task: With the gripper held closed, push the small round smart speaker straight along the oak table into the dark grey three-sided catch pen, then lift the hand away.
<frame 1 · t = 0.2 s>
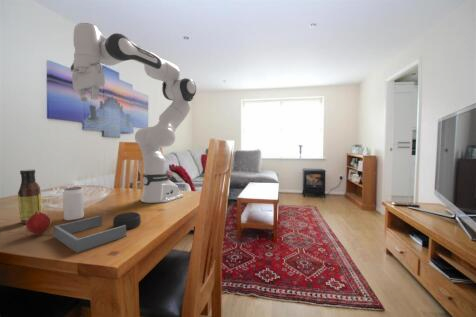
hand: (89, 100, 90), 47 cm above the table, tool pointing down, fingers open, 8 cm apart
onion: (39, 235, 71), on the table
can: (74, 218, 88), on the table
sauce bottle: (31, 222, 83), on the table
catch pen: (90, 236, 70), on the table
smart speaker: (127, 226, 80), on the table
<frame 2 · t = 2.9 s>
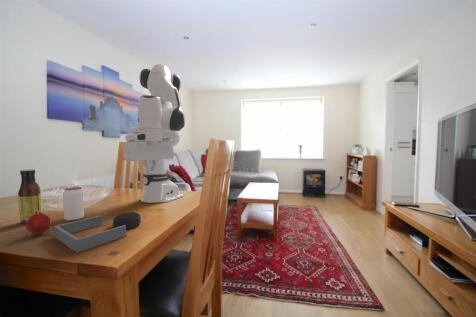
hand: (151, 171, 87), 19 cm above the table, tool pointing down, fingers closed
nothing on the table moved.
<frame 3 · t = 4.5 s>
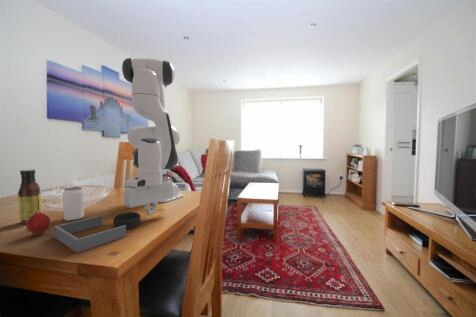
hand: (151, 213, 88), 2 cm above the table, tool pointing down, fingers closed
nothing on the table moved.
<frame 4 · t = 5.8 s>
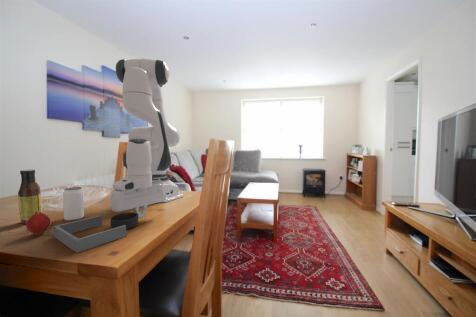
hand: (140, 217, 84), 2 cm above the table, tool pointing down, fingers closed
smart speaker: (124, 227, 79), on the table, touching gripper
everything else where it was.
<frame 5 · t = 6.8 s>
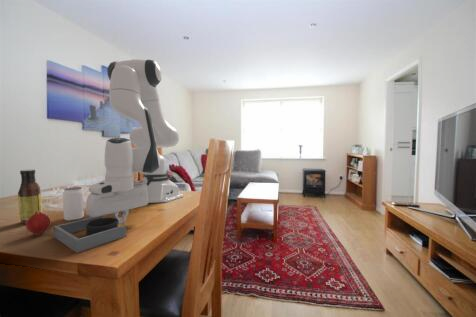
hand: (120, 223, 78), 2 cm above the table, tool pointing down, fingers closed
smart speaker: (102, 233, 73), on the table, touching gripper
everything else where it was.
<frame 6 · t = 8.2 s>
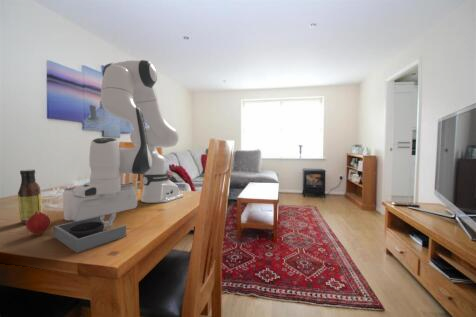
hand: (107, 227, 74), 2 cm above the table, tool pointing down, fingers closed
smart speaker: (87, 238, 70), on the table
everything else where it was.
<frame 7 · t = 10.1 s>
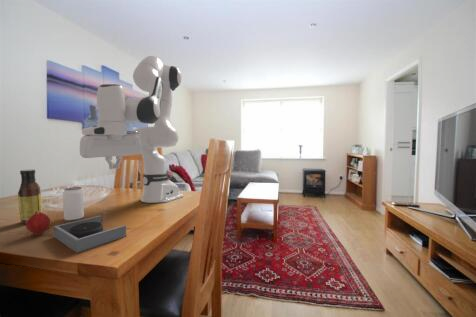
hand: (114, 168, 80), 21 cm above the table, tool pointing down, fingers closed
nothing on the table moved.
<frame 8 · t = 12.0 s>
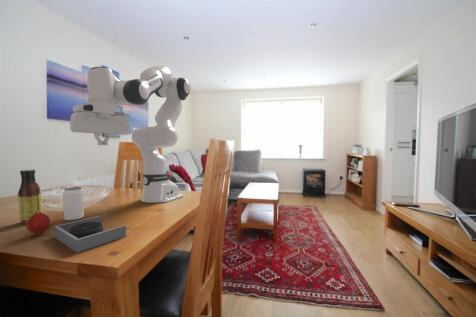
hand: (102, 145, 86), 29 cm above the table, tool pointing down, fingers closed
nothing on the table moved.
at the end: smart speaker inside the target area (0.5 cm from its centre), on the table; smart speaker moved 13.0 cm from its start; smart speaker touching table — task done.
